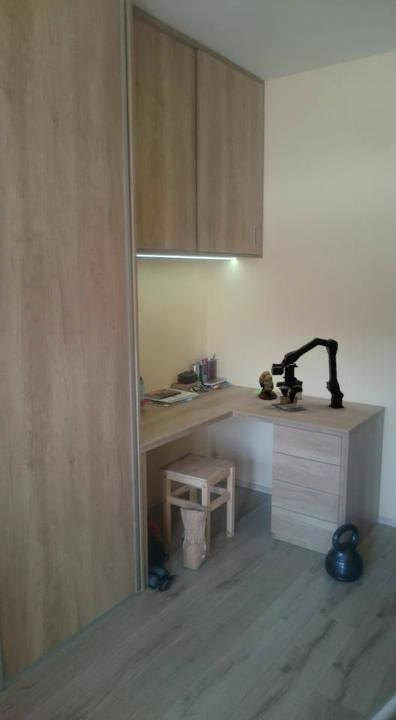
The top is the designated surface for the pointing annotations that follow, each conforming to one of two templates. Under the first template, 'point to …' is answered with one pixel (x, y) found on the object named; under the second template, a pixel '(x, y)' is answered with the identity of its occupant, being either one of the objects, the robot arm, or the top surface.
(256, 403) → the top surface
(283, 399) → the walnut card box
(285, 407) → the picture frame
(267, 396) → the bust sculpture
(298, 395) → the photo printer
